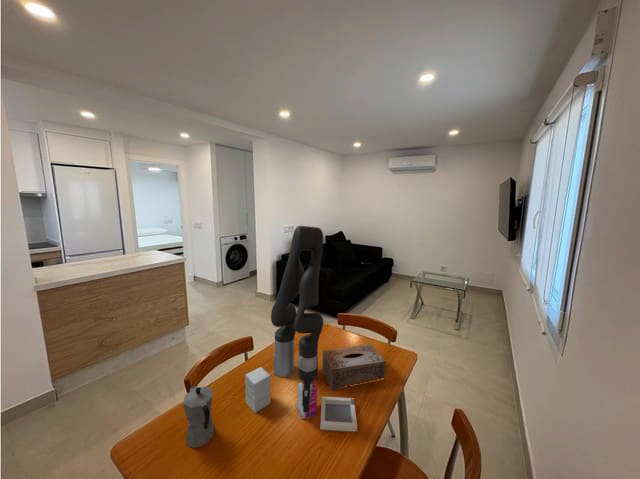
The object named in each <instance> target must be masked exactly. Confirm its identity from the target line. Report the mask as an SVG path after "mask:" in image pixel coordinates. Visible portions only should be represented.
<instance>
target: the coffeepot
mask: <svg viewBox="0 0 640 479" xmlns="http://www.w3.org/2000/svg"><path fill="white" fill-rule="evenodd" d="M213 391H214V390H213V389H212V388H210V387H208V386H196V385H194V386H191V387H190V388H189V392H188V393H186V394H185V395H184V398H183V401H182V402H183V403H182V404H183V405H182V406H183V409H184V412H185V413H184V414H185V417H186V420H187V421H188V423H187V430H186V438H185V444H186V445H188V447H190V448H194V449H196V448H199V447H202V446H205V445H206V444H208V443H209V442H210V441H211V440H212V438H213V436H214V435H215V434H214V433H215V426H214V425H215V424H214V421H213V417H212V413H211V412H212V401H213V394H214V393H213Z"/></svg>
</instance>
